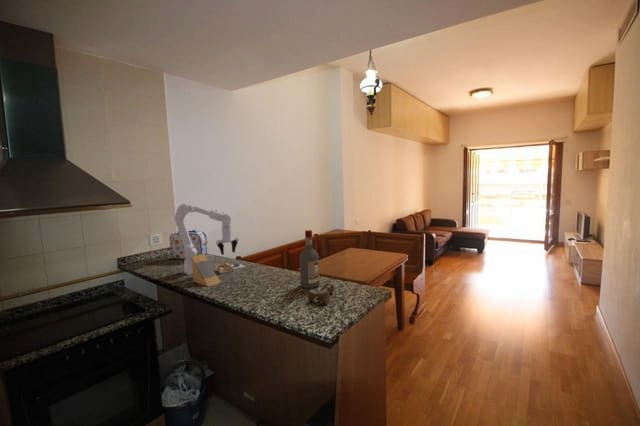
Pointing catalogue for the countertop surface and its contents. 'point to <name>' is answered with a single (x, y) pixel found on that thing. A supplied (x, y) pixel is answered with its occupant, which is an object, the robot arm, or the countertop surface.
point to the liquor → (309, 264)
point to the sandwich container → (203, 271)
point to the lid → (238, 265)
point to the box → (224, 268)
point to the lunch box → (196, 238)
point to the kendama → (321, 294)
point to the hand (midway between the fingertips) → (228, 253)
